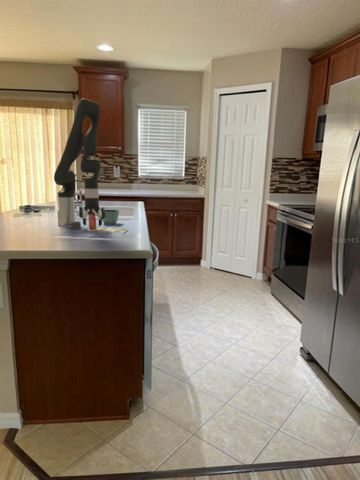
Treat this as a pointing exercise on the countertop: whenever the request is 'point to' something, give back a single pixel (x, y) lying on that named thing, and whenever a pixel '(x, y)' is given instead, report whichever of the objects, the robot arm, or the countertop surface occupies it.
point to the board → (109, 229)
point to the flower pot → (110, 216)
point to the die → (75, 224)
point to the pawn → (92, 222)
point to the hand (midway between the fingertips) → (92, 225)
